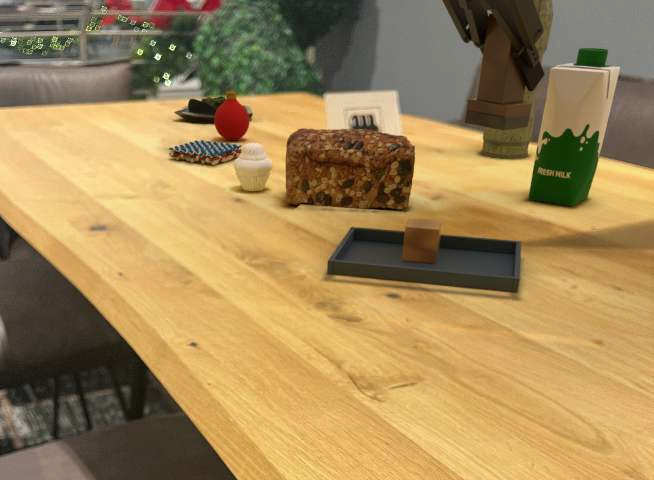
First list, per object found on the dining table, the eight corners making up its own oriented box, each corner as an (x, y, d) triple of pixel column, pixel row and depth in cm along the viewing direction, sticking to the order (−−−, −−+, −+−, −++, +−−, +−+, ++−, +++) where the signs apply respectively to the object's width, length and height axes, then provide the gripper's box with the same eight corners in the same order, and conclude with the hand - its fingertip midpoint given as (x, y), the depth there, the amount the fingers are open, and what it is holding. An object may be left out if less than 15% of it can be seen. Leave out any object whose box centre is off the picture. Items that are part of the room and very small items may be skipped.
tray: (518, 258, 95) (521, 241, 93) (516, 297, 83) (519, 278, 82) (350, 243, 99) (351, 226, 98) (327, 278, 88) (327, 260, 87)
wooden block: (438, 253, 94) (442, 220, 91) (435, 263, 91) (439, 229, 88) (406, 250, 95) (409, 217, 92) (401, 260, 91) (405, 226, 89)
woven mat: (215, 166, 135) (214, 154, 134) (167, 159, 140) (166, 147, 138) (246, 156, 143) (246, 144, 141) (199, 150, 147) (199, 138, 146)
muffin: (227, 190, 121) (225, 142, 117) (245, 182, 125) (244, 136, 121) (262, 195, 119) (262, 146, 115) (278, 187, 123) (279, 140, 119)
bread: (283, 208, 113) (284, 134, 107) (290, 190, 122) (291, 121, 116) (410, 212, 111) (418, 138, 106) (408, 194, 120) (415, 124, 114)
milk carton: (595, 197, 120) (630, 50, 108) (575, 209, 114) (610, 54, 102) (540, 189, 124) (569, 46, 112) (519, 200, 118) (547, 50, 106)
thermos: (517, 147, 151) (556, -73, 131) (536, 160, 142) (580, -75, 122) (473, 147, 151) (505, -73, 131) (489, 160, 142) (525, -76, 121)
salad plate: (179, 110, 186) (178, 88, 183) (252, 110, 187) (252, 89, 184) (172, 123, 170) (171, 100, 168) (252, 124, 171) (252, 101, 168)
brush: (527, 127, 104) (548, 14, 97) (503, 130, 102) (522, 15, 94) (489, 119, 109) (505, 11, 101) (464, 123, 106) (479, 12, 99)
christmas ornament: (218, 144, 152) (216, 87, 146) (212, 137, 158) (210, 82, 152) (252, 142, 153) (252, 86, 148) (245, 136, 159) (245, 82, 153)
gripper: (382, -47, 93) (458, 95, 110) (491, -47, 81) (557, 112, 98) (419, -100, 92) (489, 51, 109) (534, -108, 81) (592, 63, 98)
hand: (521, 80), depth 104 cm, fingers closed on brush, 4 cm apart
